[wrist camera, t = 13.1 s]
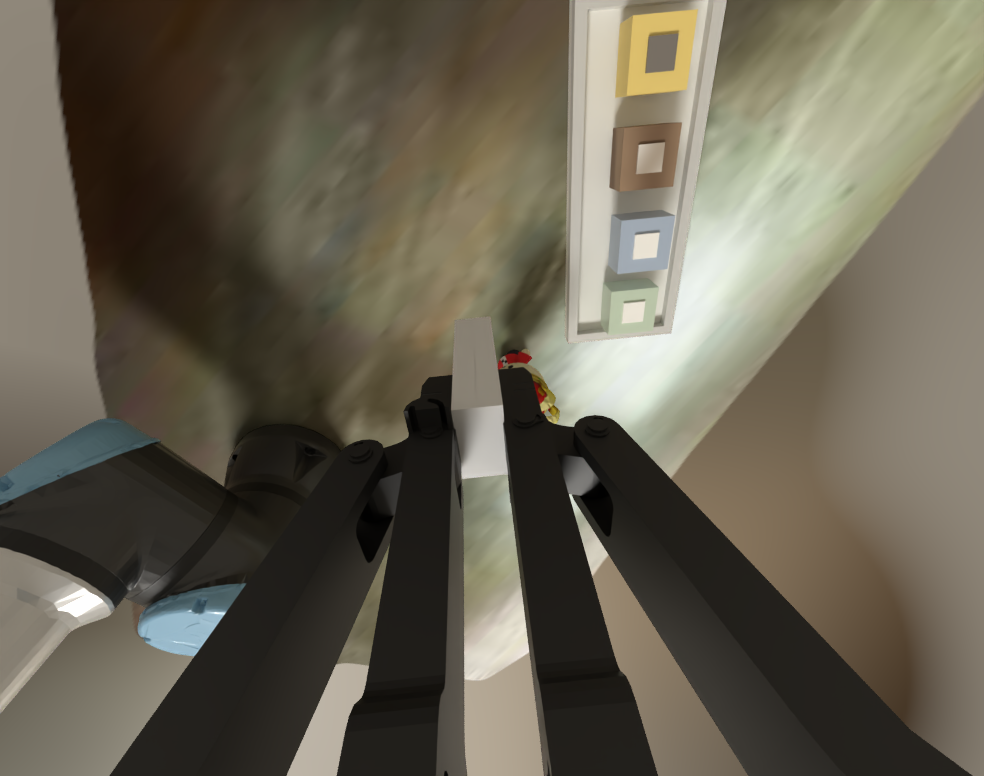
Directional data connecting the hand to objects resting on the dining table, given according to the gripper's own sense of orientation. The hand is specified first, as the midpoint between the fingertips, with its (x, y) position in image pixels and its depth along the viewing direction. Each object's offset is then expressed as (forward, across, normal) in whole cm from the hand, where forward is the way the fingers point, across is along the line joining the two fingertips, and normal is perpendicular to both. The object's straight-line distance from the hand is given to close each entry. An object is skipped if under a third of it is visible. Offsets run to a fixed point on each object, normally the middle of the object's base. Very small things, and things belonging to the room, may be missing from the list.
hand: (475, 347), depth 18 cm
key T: (+26, +16, +4) cm, 31 cm away
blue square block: (+25, +16, -3) cm, 30 cm away
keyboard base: (+28, +16, +1) cm, 33 cm away
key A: (+26, +16, +11) cm, 33 cm away
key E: (+26, +16, -9) cm, 32 cm away
